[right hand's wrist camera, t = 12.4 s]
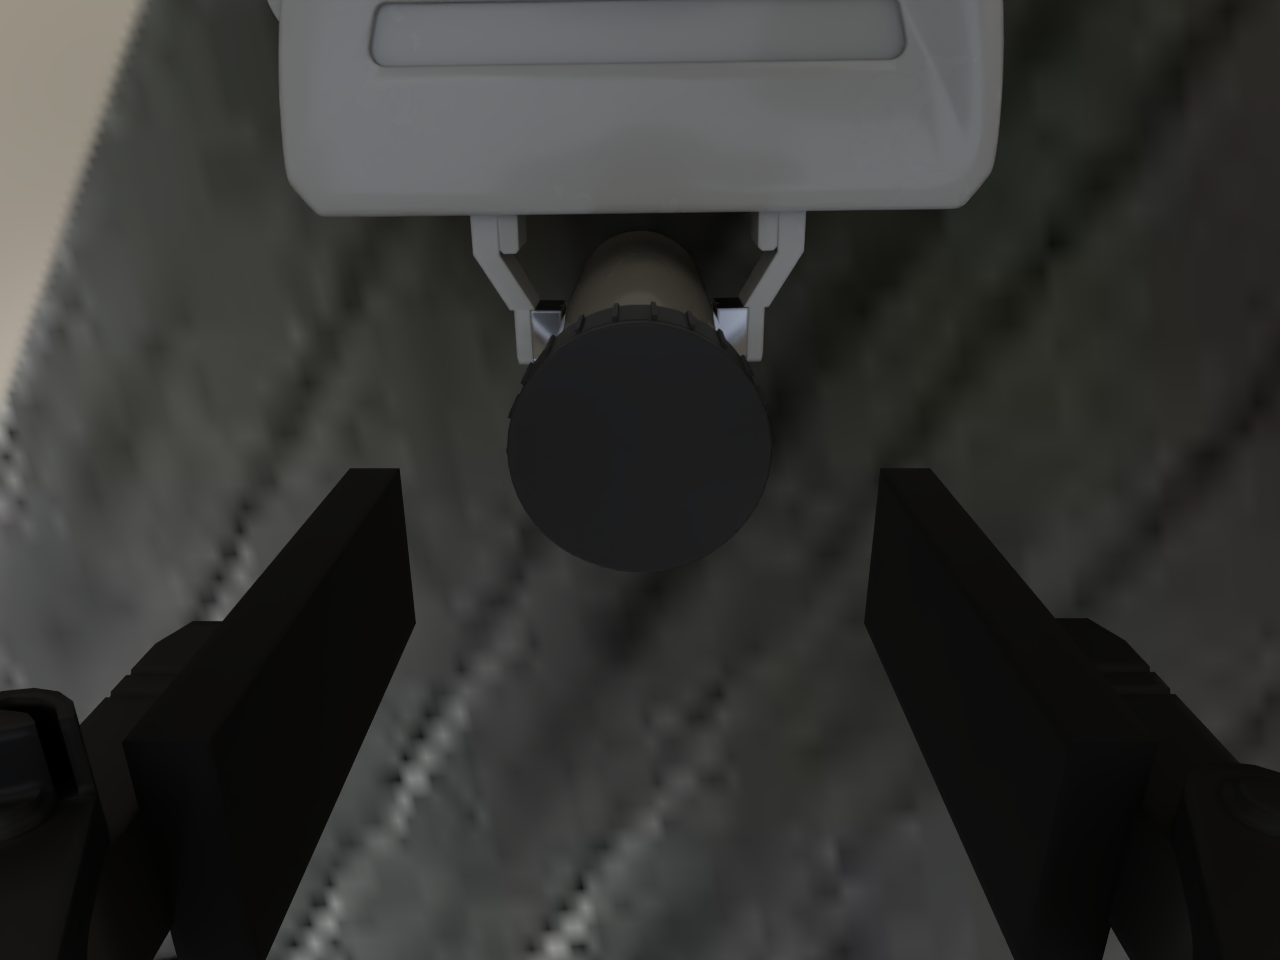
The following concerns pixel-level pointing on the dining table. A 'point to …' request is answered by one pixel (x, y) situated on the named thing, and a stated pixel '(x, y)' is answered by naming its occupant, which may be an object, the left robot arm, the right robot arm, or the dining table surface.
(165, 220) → the dining table surface
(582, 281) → the grey cylinder
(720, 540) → the lid
